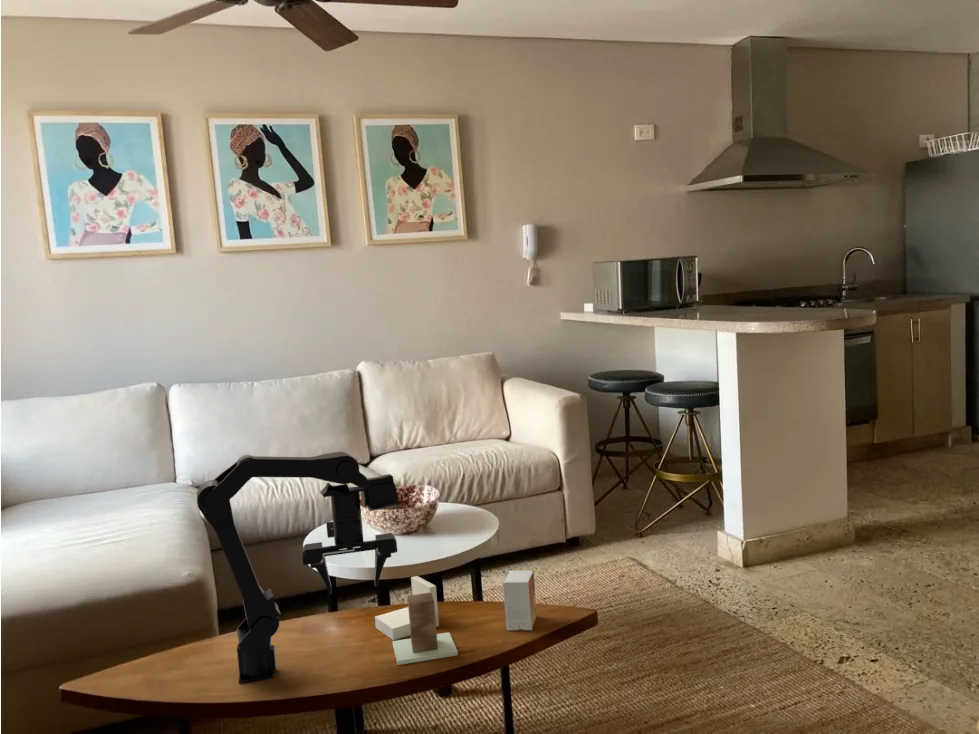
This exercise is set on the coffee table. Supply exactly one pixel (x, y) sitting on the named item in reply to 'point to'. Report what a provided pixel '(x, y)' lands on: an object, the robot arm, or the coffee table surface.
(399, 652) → the pad
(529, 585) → the small box
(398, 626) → the ledge
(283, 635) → the coffee table surface
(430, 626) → the walnut block
